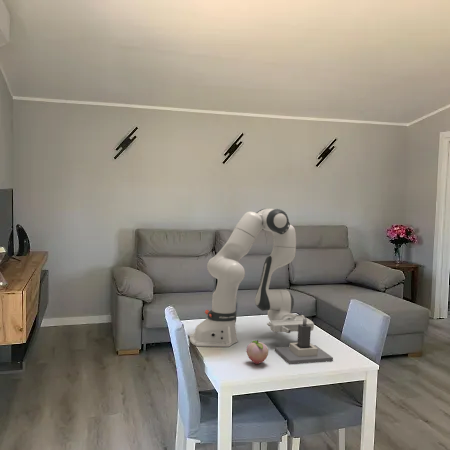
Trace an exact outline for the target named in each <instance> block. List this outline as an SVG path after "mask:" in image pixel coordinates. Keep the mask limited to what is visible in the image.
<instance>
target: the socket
mask: <svg viewBox="0 0 450 450" xmlns="http://www.w3.org/2000/svg"><path fill="white" fill-rule="evenodd" d="M274 352H275V353H276V354H277V355H278V356H280V358H282V359H283V360H284V361H285V362H286V363H288V364H289V365H297V364H300V365H301V364H309V363H311V364H312V363H325V362H326V361H327V362H334V357H333V356H332V355H330V354H329V353H327V352H326V351H324V350H323V349H322V348H320V346H319V347H318V346H317V345H316V344H314V345H313V344H312V343H311V342H310V348H301V349H300V348H299V347H298V346H297V342H290V343H289V346H283V347H282V346H281V347H280V346H279V347H274ZM327 362H326V363H327Z"/></svg>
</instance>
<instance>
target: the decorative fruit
mask: <svg viewBox="0 0 450 450" xmlns="http://www.w3.org/2000/svg"><path fill="white" fill-rule="evenodd" d="M245 352H246V355H247V357H248V358H249V360H250V361H251V362H253V363H254V364H256V365H258V364H261V363H264V362H265V360H267V357H268V356H269V348H268V346H267V345H266V344H265V343H264V342H261V341H259V339H257V340H252V341H251V342H250V343H249V344H248V345H247V347H246V349H245Z"/></svg>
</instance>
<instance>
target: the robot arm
mask: <svg viewBox="0 0 450 450" xmlns="http://www.w3.org/2000/svg"><path fill="white" fill-rule="evenodd" d="M261 231H266V232H271V234H272V236H273V244H272V251H271V253H270V254H269V256H267V257H266V258H265V260H264V264H263V267H262V270H261V275H260V279H259V283H258V288H257V291H256V294H255V298H254V303H255V306H256V307H257V308H258V309H259V310H260V311H262V312H263V311H267V318H268V320H269V322H266V325H267V326H268V327H269V329H270V330H271V331H272V332H273V333H286V334H291V332H298V324H303V318H306V319H307V324H308V325H309V326H311V331H314V327H315V323H314V322H313V321H312V320H311V319H309V318H307V317H305V315H303V314H297V313H292V312H293V309H294V305H295V299H294V296H293V294H292V293H291V291H290V290H288V289H269V288H270V284H271V280H272V275H273V273H274V272H275V271H276V270H277V269H280V268H282V267H285V266H286V265H288V264H290V263H292V262H293V261H294V259H295V256H296V251H297V234H296V229H295V227H294V226H293V225H292V224H291V223H290V220H289V217H288V214H287V212H285V211H284V210H282V209H280V208H279V209H278V208H271V207H269V208H261V209H260V210H258V211H256V212H254V211H246V212H245V213H244V214H243V215H242V216H241V218H240V219H239V220H238V222H237V223H236V225H235V227H234V228H233V230H232V233H231V234H230V236H229V238H228V239H227V241H226V243H225V244H224V245H223V246H222V248H220V250H219V251H218V252H217V253H216V254H215V255H214V256H213V257H211V258H210V259H209V260H208V262H207V264H206V266H207V267H206V269H207V272H208V273H209V274H210V275H211V276H212V277H213V279H217V283H216V287H215V290H214V291H213V293H212V296H211V297H212V299H211V300H212V302H211V303H212V304H211V306H212V307H211V310H209V309H205V310H204V313H205V314H206V316H207V318H205V319H204V320H203V321H201V322H200V323H198V324H197V325H196V327H195V330H194V334H191V335H190V336H189V342H190V343H191V344H192V345H193V346H196V347H219V348H220V347H228V348H229V347H231V346H232V345H234V344H236V343H238V337H237V329H236V328H237V327H236V322H237V310H236V309H237V307H236V304H237V293H238V290H239V286H240V284H241V282H242V281H243V280H244V278H245V276H246V271H245V268H244V266H243V265H242V264H241V263H240V262H239V261H240V260H241V259H242V258H243V257H244V256H246V255H248V253H249V252H250V250H251V248H252V246H253V244H254V242H255V241H256V239H257V237H258V235H259V233H260V232H261Z"/></svg>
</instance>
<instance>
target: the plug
mask: <svg viewBox="0 0 450 450" xmlns="http://www.w3.org/2000/svg"><path fill="white" fill-rule="evenodd" d="M306 318H307V317H304V318H303V324H298V331H297V341H296V343H297V346H298V347H299V348H300V349H301V348H310V343H311V326H309V325H308V324H307V319H308V318H307V319H306Z"/></svg>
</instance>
